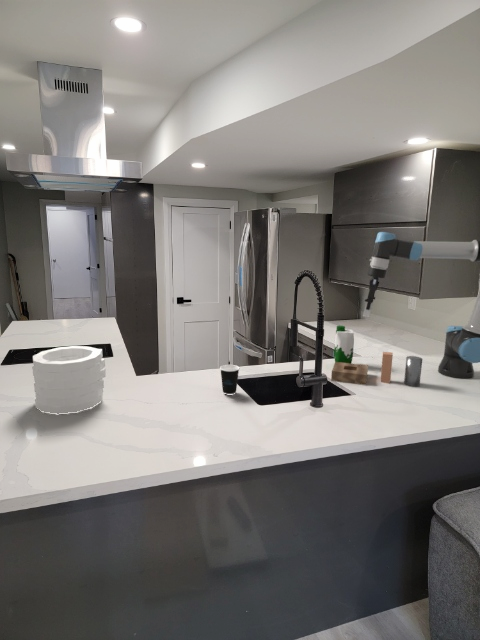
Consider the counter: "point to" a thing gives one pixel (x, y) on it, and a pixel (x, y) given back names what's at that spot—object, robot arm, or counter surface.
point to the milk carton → (344, 345)
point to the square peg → (386, 367)
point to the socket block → (349, 373)
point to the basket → (68, 378)
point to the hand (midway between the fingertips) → (366, 314)
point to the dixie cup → (229, 378)
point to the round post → (413, 371)
